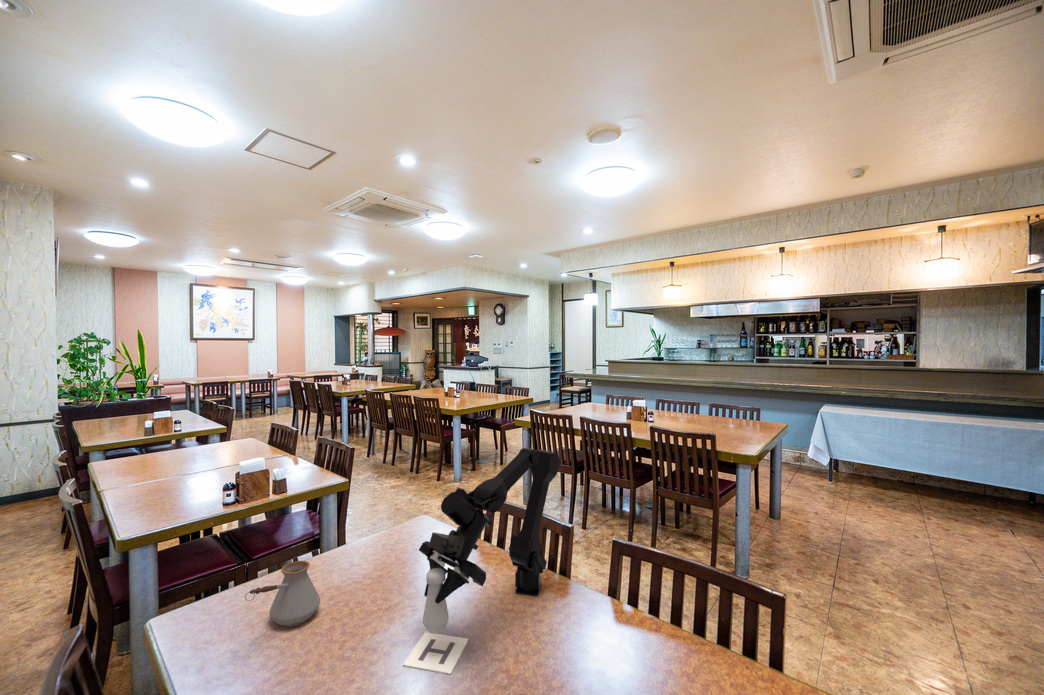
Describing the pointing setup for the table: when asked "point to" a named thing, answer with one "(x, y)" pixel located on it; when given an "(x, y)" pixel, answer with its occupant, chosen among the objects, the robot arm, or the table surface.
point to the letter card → (436, 653)
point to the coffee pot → (292, 595)
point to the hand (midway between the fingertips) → (431, 599)
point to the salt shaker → (434, 612)
